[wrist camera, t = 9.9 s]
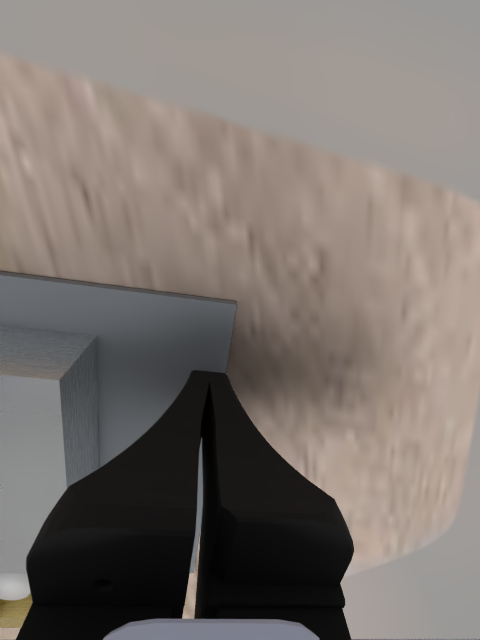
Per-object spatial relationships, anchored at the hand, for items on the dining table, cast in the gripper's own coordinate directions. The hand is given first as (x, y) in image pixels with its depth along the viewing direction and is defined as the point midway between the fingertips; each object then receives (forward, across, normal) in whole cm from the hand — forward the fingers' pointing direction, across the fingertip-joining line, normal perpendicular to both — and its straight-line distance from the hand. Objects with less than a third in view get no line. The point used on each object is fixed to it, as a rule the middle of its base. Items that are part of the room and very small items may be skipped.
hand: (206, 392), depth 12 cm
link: (+1, +7, +5) cm, 9 cm away
